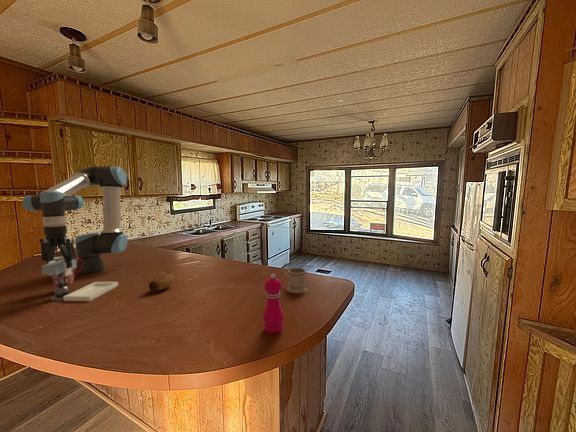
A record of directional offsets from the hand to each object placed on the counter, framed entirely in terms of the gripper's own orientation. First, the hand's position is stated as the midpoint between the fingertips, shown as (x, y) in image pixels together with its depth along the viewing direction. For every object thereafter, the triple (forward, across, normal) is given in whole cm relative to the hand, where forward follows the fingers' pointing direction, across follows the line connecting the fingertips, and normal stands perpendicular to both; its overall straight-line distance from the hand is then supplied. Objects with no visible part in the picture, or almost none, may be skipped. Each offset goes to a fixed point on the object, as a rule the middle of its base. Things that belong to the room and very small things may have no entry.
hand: (60, 274), depth 115 cm
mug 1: (+8, -5, +8) cm, 13 cm away
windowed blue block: (-2, 0, 0) cm, 2 cm away
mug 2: (+11, +108, +12) cm, 109 cm away
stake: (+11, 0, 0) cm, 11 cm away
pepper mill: (+10, +101, -25) cm, 104 cm away
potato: (+11, +42, +10) cm, 44 cm away
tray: (+11, +11, +4) cm, 16 cm away
